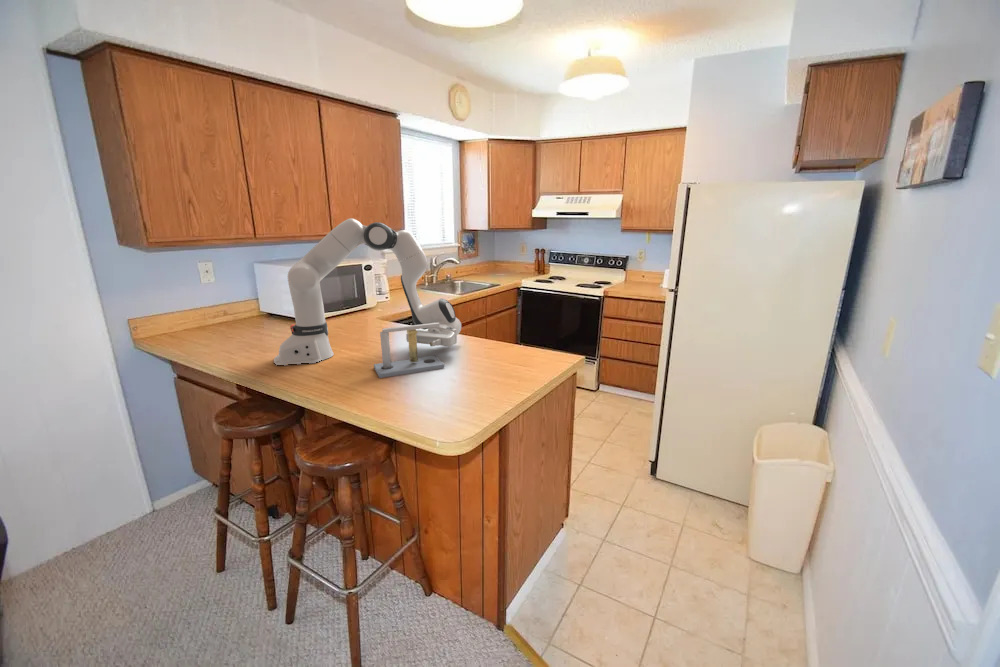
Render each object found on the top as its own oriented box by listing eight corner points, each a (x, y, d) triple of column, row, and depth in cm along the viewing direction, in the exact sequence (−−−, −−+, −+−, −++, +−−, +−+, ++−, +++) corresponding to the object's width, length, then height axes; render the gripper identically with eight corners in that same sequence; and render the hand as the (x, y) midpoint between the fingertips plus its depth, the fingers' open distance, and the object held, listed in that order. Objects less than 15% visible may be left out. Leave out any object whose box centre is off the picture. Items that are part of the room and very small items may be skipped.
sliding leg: (410, 364, 160) (408, 331, 157) (408, 361, 163) (406, 329, 160) (419, 362, 162) (417, 330, 158) (417, 360, 164) (415, 328, 161)
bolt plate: (379, 378, 152) (375, 334, 148) (374, 367, 163) (370, 326, 158) (445, 367, 162) (443, 326, 157) (436, 358, 172) (434, 319, 168)
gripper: (416, 325, 181) (397, 333, 169) (459, 329, 174) (443, 337, 162) (416, 339, 183) (398, 348, 171) (460, 343, 176) (444, 353, 164)
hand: (420, 343), depth 166 cm, fingers open, 8 cm apart
